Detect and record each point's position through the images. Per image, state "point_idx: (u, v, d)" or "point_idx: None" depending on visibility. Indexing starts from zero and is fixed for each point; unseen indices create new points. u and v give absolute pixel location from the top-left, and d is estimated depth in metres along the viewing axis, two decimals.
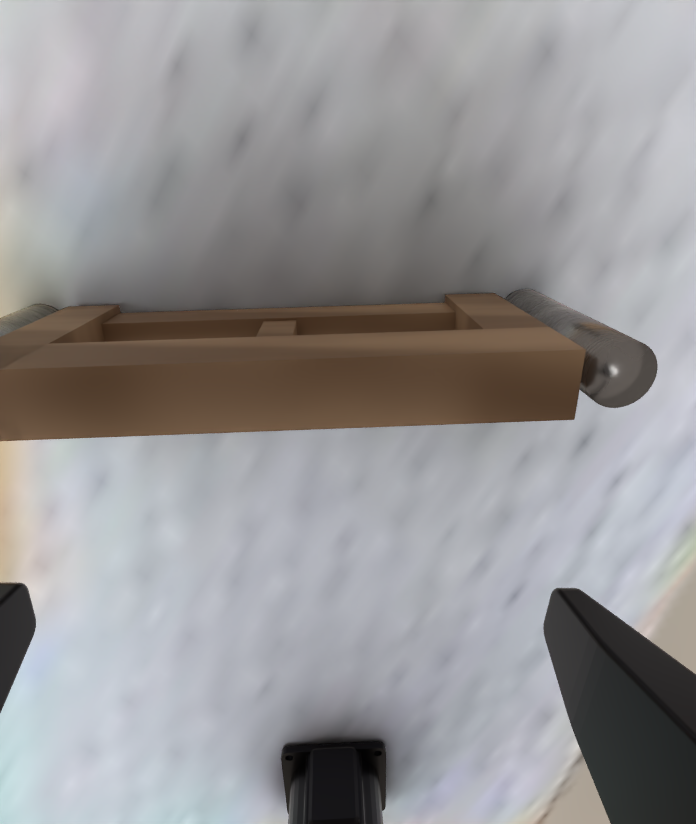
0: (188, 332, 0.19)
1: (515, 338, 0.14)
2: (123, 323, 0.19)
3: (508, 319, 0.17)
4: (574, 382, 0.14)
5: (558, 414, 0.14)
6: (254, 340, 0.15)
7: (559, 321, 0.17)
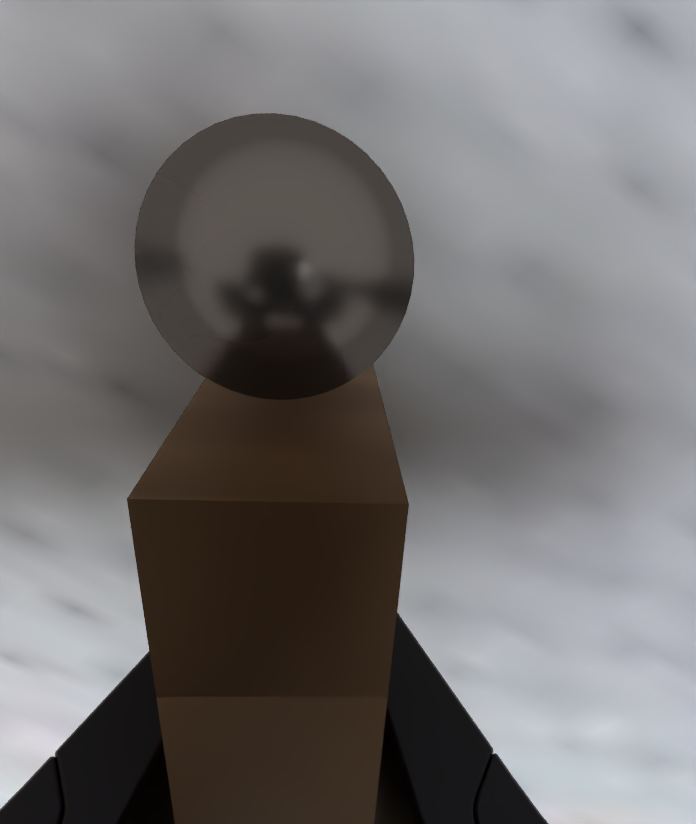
0: None
1: None
2: None
3: None
4: (258, 517, 0.04)
5: (379, 554, 0.04)
6: None
7: None
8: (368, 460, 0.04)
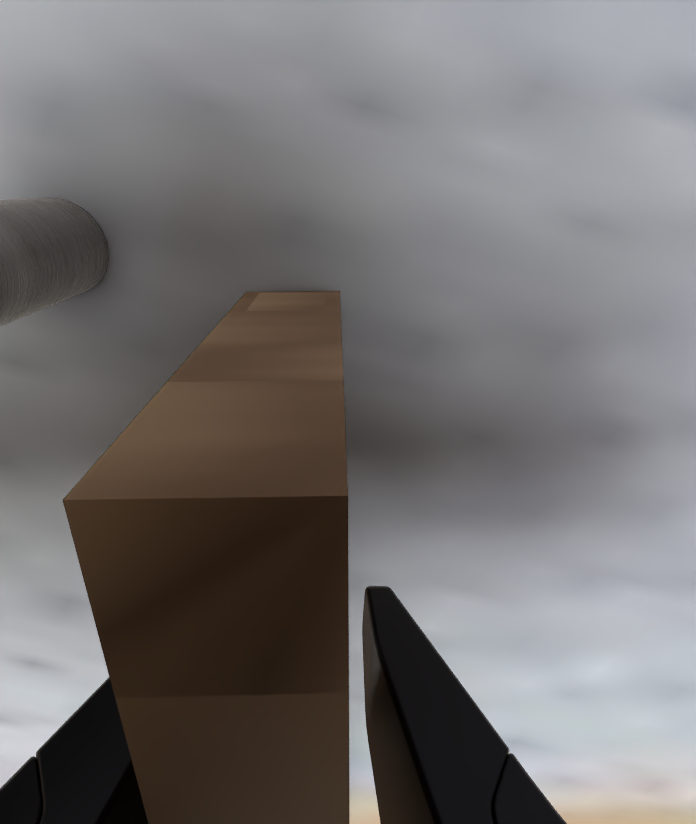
0: None
1: None
2: None
3: None
4: (196, 514, 0.04)
5: (323, 548, 0.04)
6: None
7: None
8: (316, 453, 0.04)
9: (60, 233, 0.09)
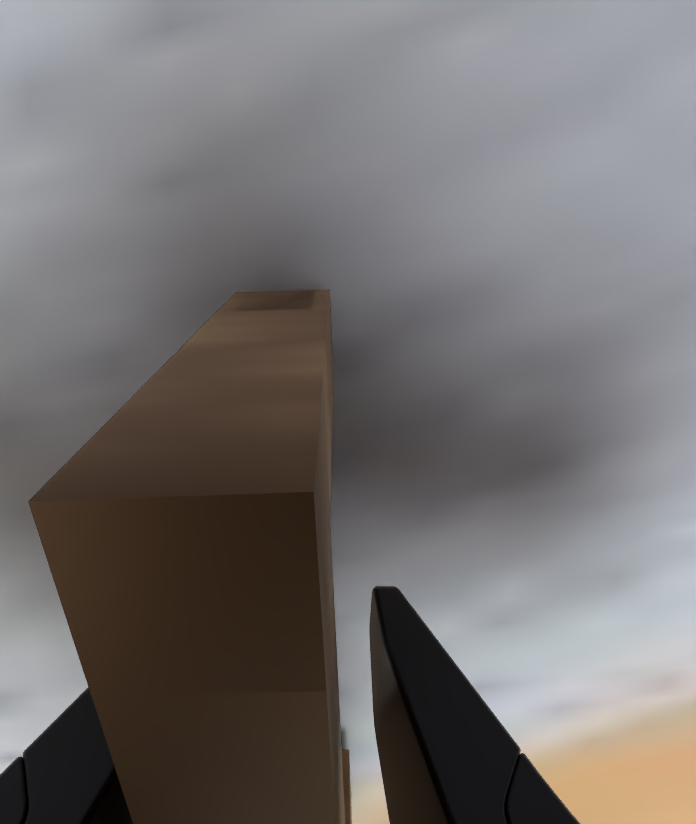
0: None
1: None
2: None
3: None
4: (163, 513, 0.04)
5: (293, 546, 0.04)
6: None
7: None
8: (287, 450, 0.04)
9: None
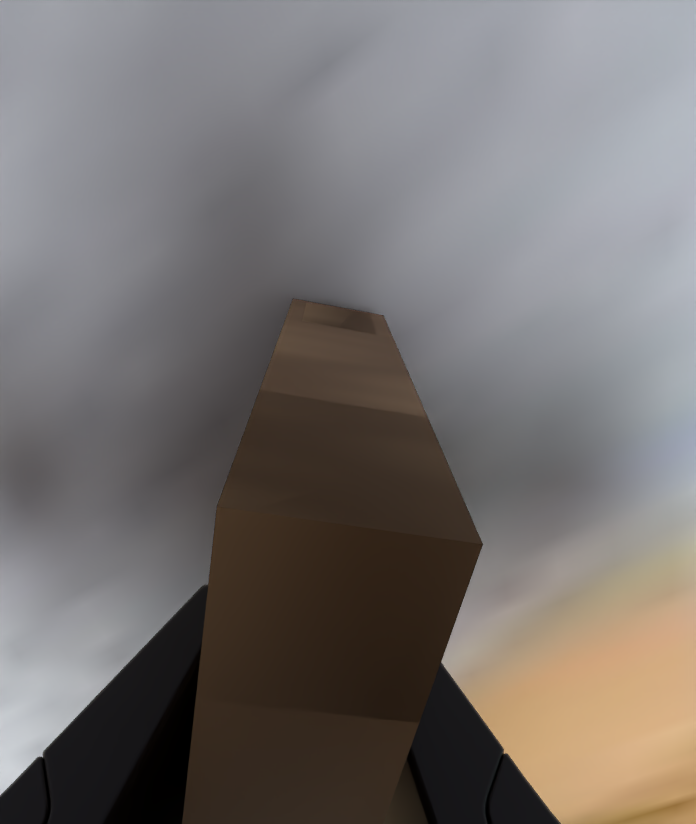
0: None
1: None
2: None
3: None
4: (338, 539, 0.04)
5: (444, 587, 0.04)
6: None
7: None
8: (435, 493, 0.04)
9: None
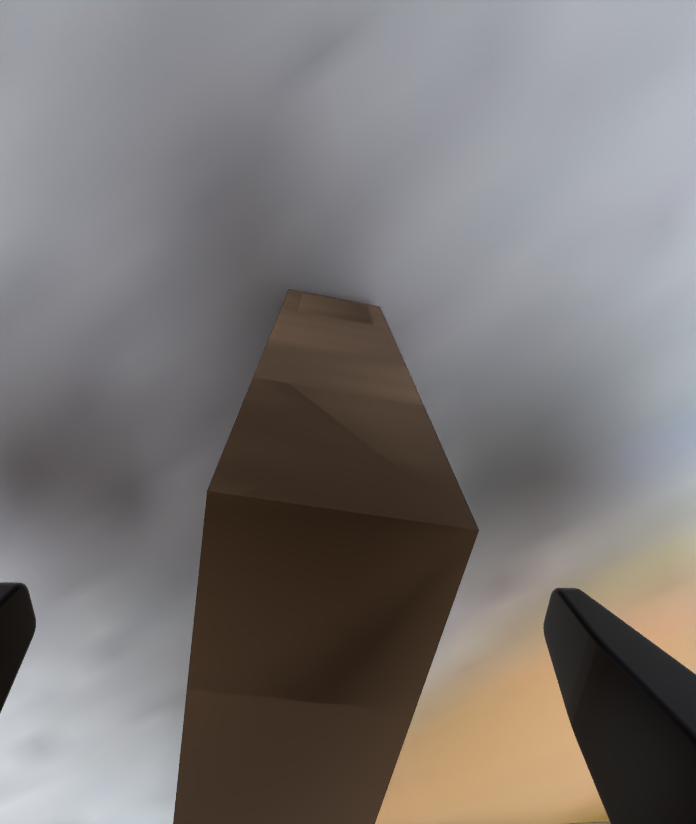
0: None
1: None
2: None
3: None
4: (331, 525, 0.04)
5: (439, 574, 0.04)
6: None
7: None
8: (430, 480, 0.04)
9: None
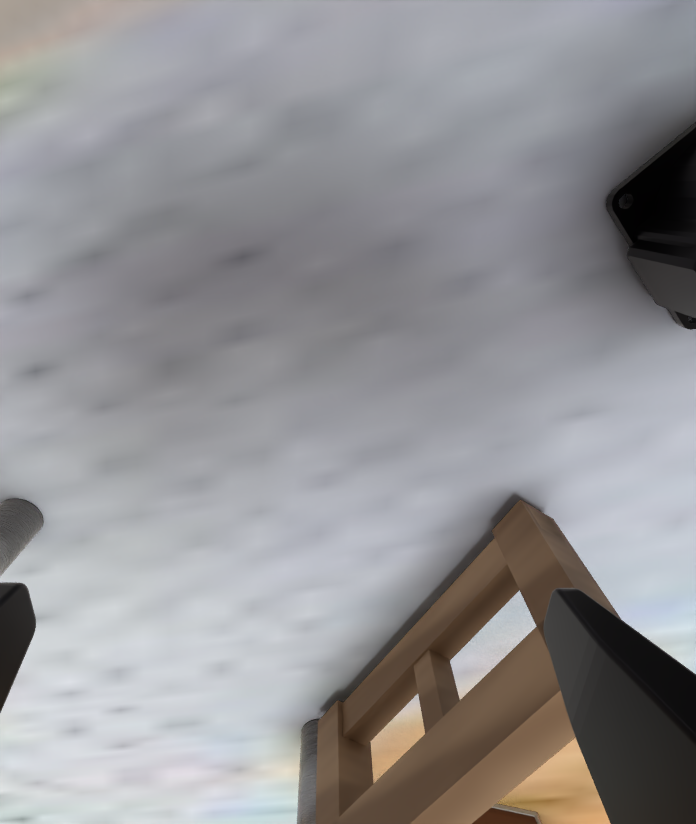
0: (384, 703, 0.25)
1: None
2: (351, 727, 0.26)
3: (545, 584, 0.19)
4: None
5: None
6: (424, 747, 0.20)
7: None
8: None
9: (7, 525, 0.21)
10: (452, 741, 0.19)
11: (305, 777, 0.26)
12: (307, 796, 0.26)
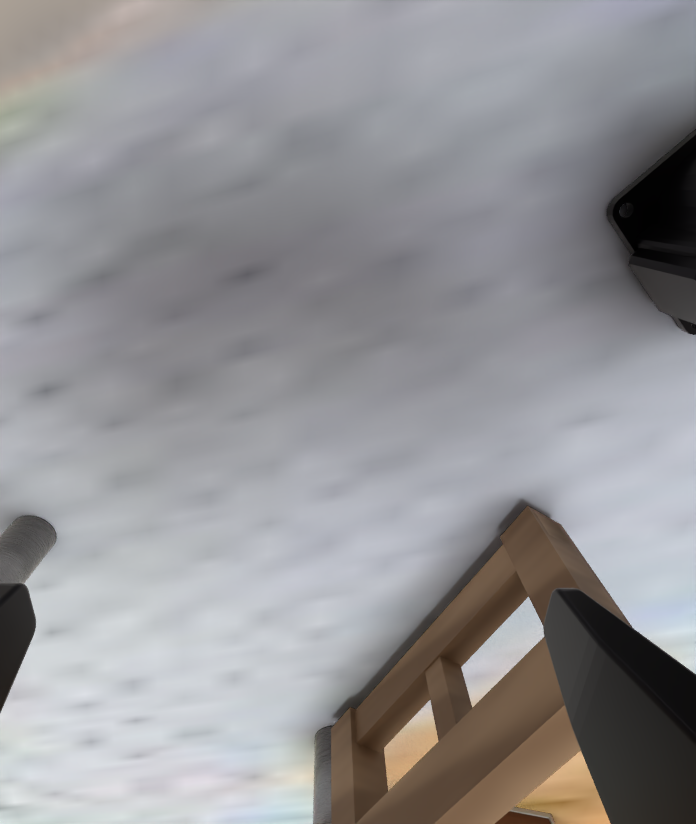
0: (397, 710, 0.25)
1: None
2: (365, 734, 0.26)
3: None
4: None
5: None
6: (438, 755, 0.20)
7: None
8: None
9: (22, 543, 0.22)
10: (465, 749, 0.19)
11: (320, 784, 0.27)
12: (322, 803, 0.26)
